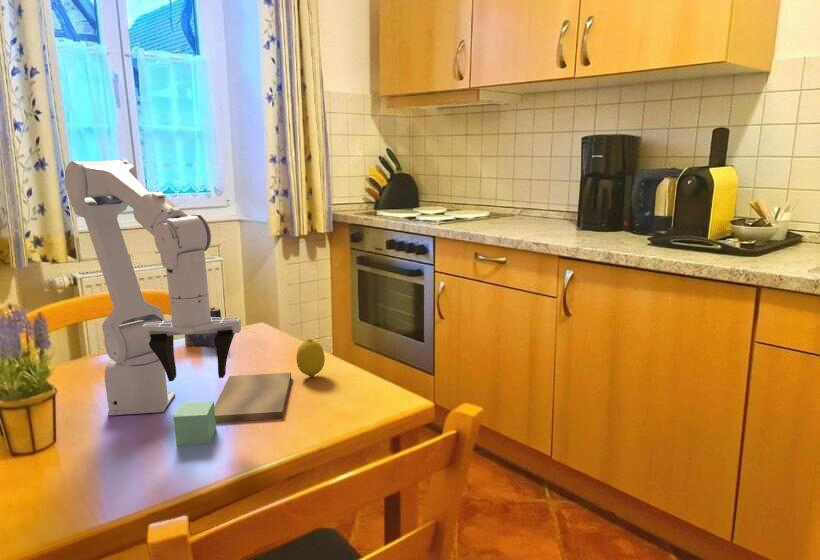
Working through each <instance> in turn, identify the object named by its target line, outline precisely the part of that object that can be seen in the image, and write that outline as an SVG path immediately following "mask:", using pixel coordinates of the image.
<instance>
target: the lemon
mask: <svg viewBox="0 0 820 560" xmlns="http://www.w3.org/2000/svg"><path fill="white" fill-rule="evenodd" d="M325 357H326V356H325V352H324V349H323V347H322V345H321V343H319V342H317V341H315V340H313V339H312V338H309V339H307V340H305V341H303V342H302V343H301V344H300V345H299V347H298V348H297V352H296V364H297V367H298V370H299V371H300V372H301V373H302V374H304V375H306V376H308V377H309V378H314V376H315V375H317V374H318V373H320V372H321V371H322V370H323V368H324V365H325V359H326V358H325Z"/></svg>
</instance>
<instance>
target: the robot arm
mask: <svg viewBox="0 0 820 560" xmlns="http://www.w3.org/2000/svg"><path fill="white" fill-rule="evenodd" d="M64 187H65V189H66V193H67V195H68V198H69V203H70V205H71V207H72V209H73V212H74V214H75V215H77V216H79V217H80V218H81V217H82V218H84V221H85V224H86V227H87V231H88V233H89V236H90V240H91V243H92V245H93V249H94V252H95V255H96V258H97V261H98V264H99V267H100V269H101V273H102V276H103V279H104V282H105V285H106V288H107V291H108V293H109V297H110V300H111V303H112V307H113V309H112V310H111V312H110V313H109V315H107V317H106V318H105V320H104V321H103V323H102V324H101V329H102V332H103V337H104V338H103V339H104V340H103V343H104V348H105V351H106V353H107V355H108V357H109V359H110V360H109V361H108V362H107V364H106V367H105V369H104V386H105V393H106V399H107V401H106V402H107V407H108V411H107V416H120V415H135V414H136V415H137V414H138V415H139V414H150V413H151V414H152V413H153V414H154V413H163V412H165V410H166V409H167V407H168V406H169V405H170V404H171V401H172V400H173V398H174V397H175V395H176V392H175V391H169V392H168V385H167V379H168V382H174V381H175V379H176V378H177V366H176V360H175V349H174V337H175V336H180V335H181V336H183V335H184V336H185V334H203V333H218V334H217V335H216V336H215V338H214V342H215V347H214V348H215V353H216V356H217V357H216V358H217V374H218V375H217V376H218V379H223V378H224V377H225V375H226V372H227V371H226V370H227V369H226V368H227V361H228V356H229V352H230V348H231V344H232V342H233V339H234V336H235V334H238V333H240V332H241V330H242V324H241V317H221V318H220V317H211V315H210V308H211V305H210V297H209V296H210V295H209V287H208V286H209V285H208V276H207V274H208V273H207V267H206V265H207V264H206V254H205V253H206V251H208V250H209V248H210V246H211V243H212V233H211V229H210V228H211V227H210V226H209V224H208V222H207V220H206V219H205V218H204V217H203V216H202V214H199V213H196V214H188V213H185V212H184V211H183V210H182V209H181V208H179V207H178V206H177V205H175V204H174V203H173V202H172V201H171V200H170V199H168V198H167V197H166V194H165V193H163V192H161V191H160V192H159V191H157V192H150V191H149V190H147V188H145V186H144V185H143V184H142V183H141V182H140V181H139V179H137V174H136V170H135V167H134V165H132V164H131V163H130V162H129V161H128V160H127V159H119V160H105V161H104V160H102V161H101V160H99V161H98V160H96V161H94V160H93V161H76V160H71V161H69V163H68V164H67V166H66V167H65V170H64ZM128 207H130V208H131V209H133V210H132V211H133V213H132V214H133V217H134V219H135V221H136V222H138V224H140V225H141V226H142V228H144V229H145V230H146V231H147V232H149V233H150V235H152V236H153V238H154V242H155V243H154V244H155V246H156V249H157V251H158V253H159V256H160V261H161V263H160V264H162V267H163V268H165V272H166V278H167V289H168V297H169V305H170V315H171V317H170V318H171V319H168V320H166V318H165V316H164V314H163V312H162V308H160V307H158V306H156V305H154V304H151V303H150V302H148V301H146V300H145V299H144V296H143V293H142V290H141V287H140V283H139V281H138V277H137V275H136V273H135V269H134V265H133V263H132V260H131V257H130V254H129V250H128V247H127V245H126V242H125V239H124V236H123V233H122V230H121V229H122V228H121V227H120V224H119V221H118V216H119V214H121V213H123V212H124V211H126V210H128ZM166 376H167V378H166Z"/></svg>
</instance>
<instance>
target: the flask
mask: <svg viewBox="0 0 820 560" xmlns="http://www.w3.org/2000/svg"><path fill="white" fill-rule="evenodd" d="M221 313H222V312H221V309H220V308H219V307H215V306H212V307H210V315H211V317H220V318H222V315H221ZM217 334H218V333H203V334H185V335H184V343H185V346H186V347H188V348H194V347H195V348H205V347H206V348H216V347H215V342H214V338H215V336H216V335H217Z"/></svg>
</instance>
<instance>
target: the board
mask: <svg viewBox="0 0 820 560" xmlns="http://www.w3.org/2000/svg"><path fill="white" fill-rule="evenodd" d="M291 382H292V372H280V373H277V372H276V373H261V374H258V373H257V374H244V375H229V376H228V378H227V380H226V383H224V384H225V385H224V386H223V389H222V390H221V392H220V394H219V396H218V398H217V401H216V402H215V403H214V410H215V420H216V423H224V422H225V423H226V422H227V423H228V422H241V421H244V422H245V421H256V420H257V421H259V420H260V421H261V420H275V419H283V417H284V414H285V409H286V404H287V399H288V397H289V396H288V394H289V391H290V387H291Z"/></svg>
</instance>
